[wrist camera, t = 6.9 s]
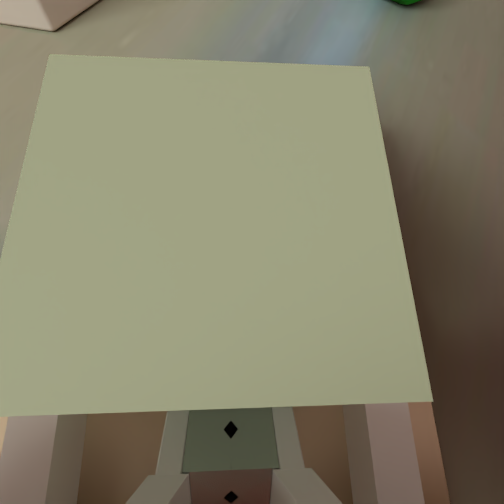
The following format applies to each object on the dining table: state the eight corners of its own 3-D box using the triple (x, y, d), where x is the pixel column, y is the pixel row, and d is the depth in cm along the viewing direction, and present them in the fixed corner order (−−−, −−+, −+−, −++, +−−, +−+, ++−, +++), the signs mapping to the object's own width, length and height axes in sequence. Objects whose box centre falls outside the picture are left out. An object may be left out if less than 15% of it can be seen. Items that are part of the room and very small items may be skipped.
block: (312, 386, 11) (433, 401, 5) (124, 392, 11) (-39, 418, 4) (298, 220, 13) (369, 66, 7) (140, 219, 13) (48, 53, 6)
